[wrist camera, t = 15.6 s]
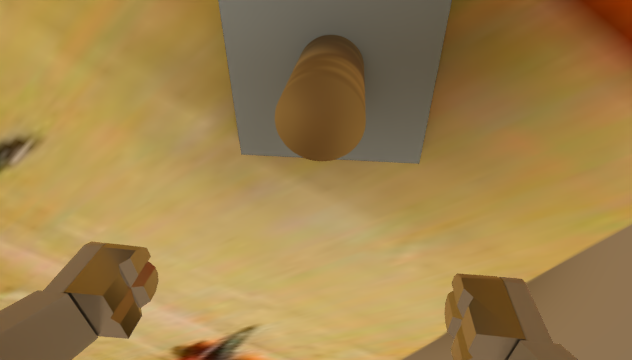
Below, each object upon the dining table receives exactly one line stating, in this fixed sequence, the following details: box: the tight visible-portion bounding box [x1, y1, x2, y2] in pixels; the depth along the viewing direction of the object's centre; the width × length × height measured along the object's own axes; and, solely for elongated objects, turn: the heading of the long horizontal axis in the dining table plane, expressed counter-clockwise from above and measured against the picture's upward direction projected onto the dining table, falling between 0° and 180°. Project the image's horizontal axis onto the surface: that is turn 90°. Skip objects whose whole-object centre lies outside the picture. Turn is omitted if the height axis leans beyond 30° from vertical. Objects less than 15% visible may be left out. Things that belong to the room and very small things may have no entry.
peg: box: [275, 35, 366, 161], centre depth 20 cm, size 4×4×8 cm
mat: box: [218, 0, 452, 164], centre depth 24 cm, size 14×14×1 cm
